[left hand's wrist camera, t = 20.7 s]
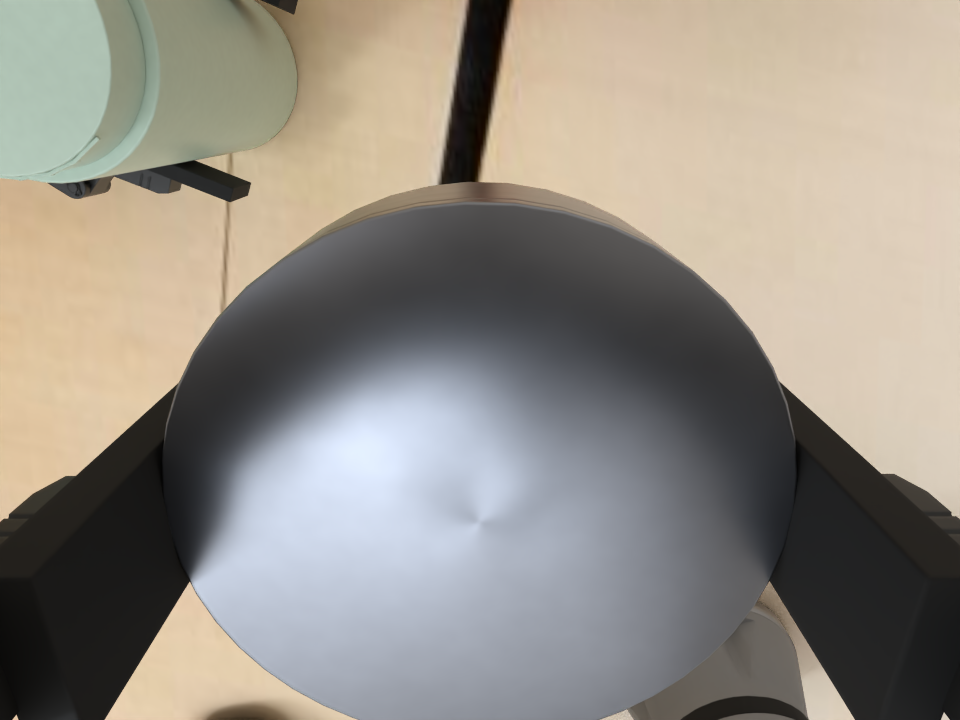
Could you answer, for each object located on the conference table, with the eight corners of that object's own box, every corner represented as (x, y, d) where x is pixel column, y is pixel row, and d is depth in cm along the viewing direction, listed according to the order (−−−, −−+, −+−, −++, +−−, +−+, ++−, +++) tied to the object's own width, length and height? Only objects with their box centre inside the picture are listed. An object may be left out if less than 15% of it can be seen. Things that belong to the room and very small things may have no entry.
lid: (825, 255, 11) (916, 293, 9) (641, 672, 15) (671, 776, 12) (244, 116, 10) (174, 118, 8) (205, 596, 14) (150, 693, 11)
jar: (113, 58, 37) (-244, 11, 19) (217, -52, 35) (-70, -227, 17) (226, 181, 40) (10, 245, 21) (329, 85, 37) (187, 66, 19)
